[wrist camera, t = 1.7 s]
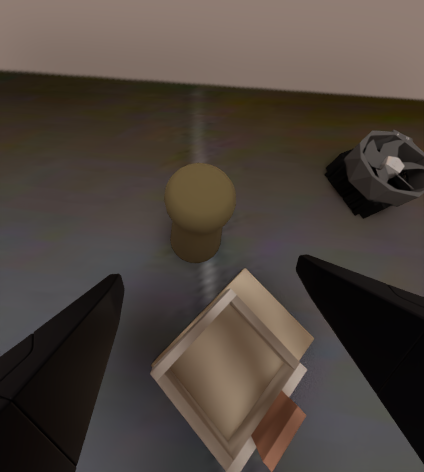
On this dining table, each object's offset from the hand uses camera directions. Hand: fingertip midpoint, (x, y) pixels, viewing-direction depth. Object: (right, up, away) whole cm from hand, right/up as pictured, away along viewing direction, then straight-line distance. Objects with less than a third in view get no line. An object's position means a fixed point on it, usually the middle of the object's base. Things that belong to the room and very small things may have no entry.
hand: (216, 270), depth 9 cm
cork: (-2, +1, +13) cm, 14 cm away
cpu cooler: (+22, +9, +19) cm, 31 cm away
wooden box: (+2, -10, +10) cm, 14 cm away
